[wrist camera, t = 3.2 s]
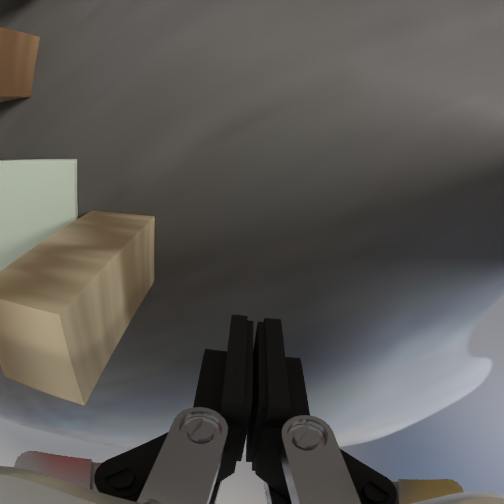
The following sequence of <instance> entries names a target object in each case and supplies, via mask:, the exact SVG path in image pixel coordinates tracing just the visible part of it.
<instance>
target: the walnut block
mask: <svg viewBox="0 0 504 504" xmlns="http://www.w3.org/2000/svg"><path fill="white" fill-rule="evenodd" d="M39 40H40V37H38V36H34V35H31V34H27V33H23V32H20V31H16V30H12V29H8V28H3V27H0V102H4V101H9V100H14V99H20V98H26V97H31V94H32V85H33V77H34V69H35V62H36V56H37V50H38V45H39Z"/></svg>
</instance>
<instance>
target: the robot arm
mask: <svg viewBox="0 0 504 504" xmlns="http://www.w3.org/2000/svg"><path fill="white" fill-rule="evenodd" d="M246 434H247V443H246V461H247V462H252V470H253V471H255V472H256V475H258V476H259V477H260V478H261V479H262V480H263V481H264V489H265V494H266V498H267V504H504V495H502V494H498V493H493V492H485V491H469V492H463V489H462V487H461V486H460V485H459V484H458V483H457V482H455V481H453V480H449V479H439V480H408V479H407V480H406V479H399V480H397V482H392V481H390V480H389V479H388V478H387V477H385V476H383V475H381V474H380V473H378V472H377V471H375V470H373V469H371V468H370V467H368V466H367V465H365V464H363V463H362V462H360V461H358V460H357V459H355V458H354V457H352V456H350V455H349V454H347V453H346V452H344V451H343V450H341V449H340V448H339V446H338V444H337V441H336V439H335V436H334V434H333V431H332V429H331V428H330V426H329V425H328V424H327V423H326V422H325V421H323V420H321V419H319V418H317V417H314V416H310V413H309V406H308V400H307V394H306V388H305V382H304V376H303V370H302V364H301V360H300V358H291V357H285V351H284V342H283V333H282V325H281V320H280V319H270V318H265V319H264V322H258V324H257V330H256V337H255V343H254V349H253V321H248V320H247V316H241V315H232V317H231V325H230V334H229V342H228V351H227V352H225V351H217V350H209V349H205V352H204V356H203V361H202V366H201V371H200V376H199V381H198V386H197V391H196V396H195V401H194V406H193V408H189V409H186V410H184V411H182V412H181V413H180V414H178V415H177V417H176V418H175V420H174V422H173V424H172V426H171V428H170V430H169V432H168V433H166V434H164V435H162V436H160V437H157V438H155V439H153V440H151V441H149V442H147V443H145V444H143V445H140V446H138V447H136V448H134V449H131V450H129V451H127V452H125V453H122V454H120V455H118V456H116V457H113V458H111V459H108V460H106V461H105V462H103V463H95V462H93V461H92V460H91V459H83V458H75V457H67V456H60V455H54V454H48V453H43V452H37V451H28V452H25V453H22V454H21V455H20V456H19V457H18V458H17V460H16V462H15V465H14V467H4V466H0V504H216V501H217V497H218V494H219V490H220V486H221V483H222V480H224V479H225V478H227V477H228V476H230V475H231V474H233V473H234V471H235V466H236V461H241V458H242V454H243V449H244V444H245V439H246Z"/></svg>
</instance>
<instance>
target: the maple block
mask: <svg viewBox="0 0 504 504" xmlns="http://www.w3.org/2000/svg"><path fill="white" fill-rule="evenodd" d="M154 229H155V216H147V215H137V214H127V213H116V212H105V211H94V210H92V211H90V212H88V213H87V214H85V215H83V216H82V217H80V218H78V219H77V220H75V221H74V222H72V223H70V224H69V225H67V226H66V227H64V228H62V229H61V230H59V231H58V232H56V233H55V234H53V235H51V236H50V237H48V238H47V239H45V240H44V241H42V242H41V243H39V244H38V245H36V246H35V247H33V248H32V249H31V250H29V251H28V252H26V253H25V254H23V255H22V256H20V257H19V258H18V259H16V260H15V261H13V262H12V263H11V264H9V265H8V266H7V267H5V268H4V269H2V270H1V271H0V366H1V368H2V370H3V373H4V375H5V377H7V378H10V379H12V380H14V381H17V382H19V383H22V384H24V385H27V386H29V387H32V388H34V389H37V390H40V391H42V392H45V393H48V394H51V395H53V396H56V397H59V398H62V399H65V400H68V401H71V402H74V403H78V404H81V405H84V406H85V405H86V403H87V401H88V399H89V397H90V395H91V393H92V391H93V389H94V387H95V385H96V383H97V381H98V379H99V378H100V376H101V374H102V372H103V370H104V368H105V366H106V364H107V363H108V361H109V359H110V357H111V355H112V353H113V352H114V350H115V348H116V346H117V344H118V343H119V341H120V339H121V337H122V336H123V334H124V332H125V330H126V328H127V327H128V325H129V323H130V322H131V320H132V318H133V316H134V315H135V313H136V311H137V309H138V308H139V306H140V304H141V303H142V301H143V299H144V298H145V296H146V294H147V293H148V291H149V289H150V288H151V286H152V284H153V283H154Z"/></svg>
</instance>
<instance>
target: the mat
mask: <svg viewBox="0 0 504 504" xmlns="http://www.w3.org/2000/svg"><path fill="white" fill-rule="evenodd" d="M77 219H78V201H77V159H24V160H0V271H1V270H2V269H4V268H5V267H7V266H8V265H9V264H11V263H12V262H13V261H15V260H16V259H18V258H19V257H20V256H22V255H23V254H25V253H26V252H28V251H29V250H31V249H32V248H33V247H35V246H36V245H38V244H39V243H41V242H42V241H44V240H45V239H47V238H48V237H50V236H51V235H53V234H55V233H56V232H58V231H59V230H61V229H62V228H64V227H66V226H67V225H69V224H70V223H72V222H74V221H75V220H77Z"/></svg>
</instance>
